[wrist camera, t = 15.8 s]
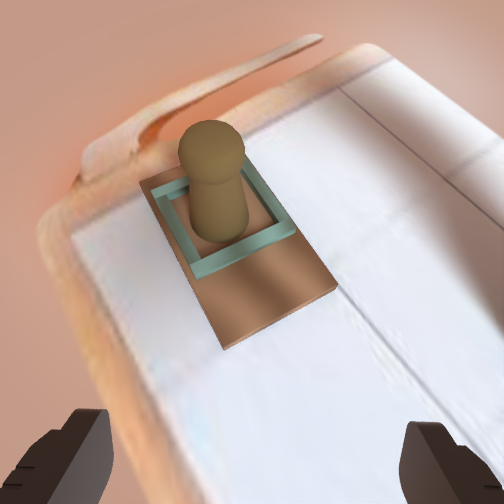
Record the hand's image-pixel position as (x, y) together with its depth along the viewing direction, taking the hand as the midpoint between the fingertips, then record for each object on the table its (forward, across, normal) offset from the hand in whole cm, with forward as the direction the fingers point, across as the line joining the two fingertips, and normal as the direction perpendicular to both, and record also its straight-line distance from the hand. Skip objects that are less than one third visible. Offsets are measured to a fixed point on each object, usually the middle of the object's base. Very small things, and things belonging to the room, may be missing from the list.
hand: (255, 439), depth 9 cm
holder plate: (+28, +3, +2) cm, 28 cm away
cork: (+28, +4, 0) cm, 28 cm away
